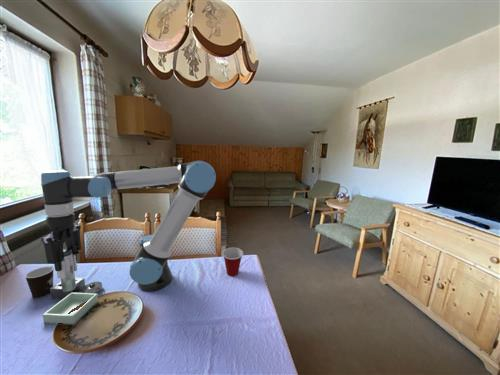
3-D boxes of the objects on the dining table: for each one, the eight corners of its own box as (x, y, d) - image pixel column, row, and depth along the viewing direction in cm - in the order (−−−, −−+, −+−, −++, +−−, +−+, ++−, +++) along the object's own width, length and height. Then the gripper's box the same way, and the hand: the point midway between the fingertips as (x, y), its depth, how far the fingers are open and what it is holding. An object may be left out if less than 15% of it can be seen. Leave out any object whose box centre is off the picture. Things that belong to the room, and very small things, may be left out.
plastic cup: (219, 278, 106) (219, 256, 104) (225, 266, 116) (225, 246, 114) (240, 280, 104) (241, 258, 102) (244, 268, 115) (244, 248, 113)
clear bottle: (78, 285, 82) (74, 248, 79) (69, 292, 78) (65, 253, 75) (68, 285, 82) (64, 247, 79) (59, 291, 78) (54, 252, 75)
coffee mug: (39, 301, 86) (35, 279, 85) (23, 297, 88) (19, 276, 86) (68, 284, 98) (65, 264, 96) (53, 281, 99) (50, 262, 98)
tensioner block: (85, 287, 96) (84, 277, 95) (70, 300, 88) (68, 289, 87) (68, 287, 96) (66, 277, 95) (51, 299, 88) (49, 288, 87)
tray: (98, 301, 87) (97, 293, 87) (73, 324, 76) (72, 315, 75) (72, 300, 88) (71, 292, 87) (43, 323, 76) (42, 314, 75)
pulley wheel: (106, 286, 97) (105, 279, 96) (94, 296, 90) (93, 289, 89) (91, 285, 97) (90, 279, 96) (78, 296, 90) (77, 289, 90)
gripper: (70, 207, 83) (76, 261, 87) (24, 221, 67) (34, 287, 71) (89, 208, 83) (94, 262, 87) (47, 222, 66) (56, 289, 70)
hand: (67, 273), depth 79 cm, fingers closed on clear bottle, 4 cm apart
